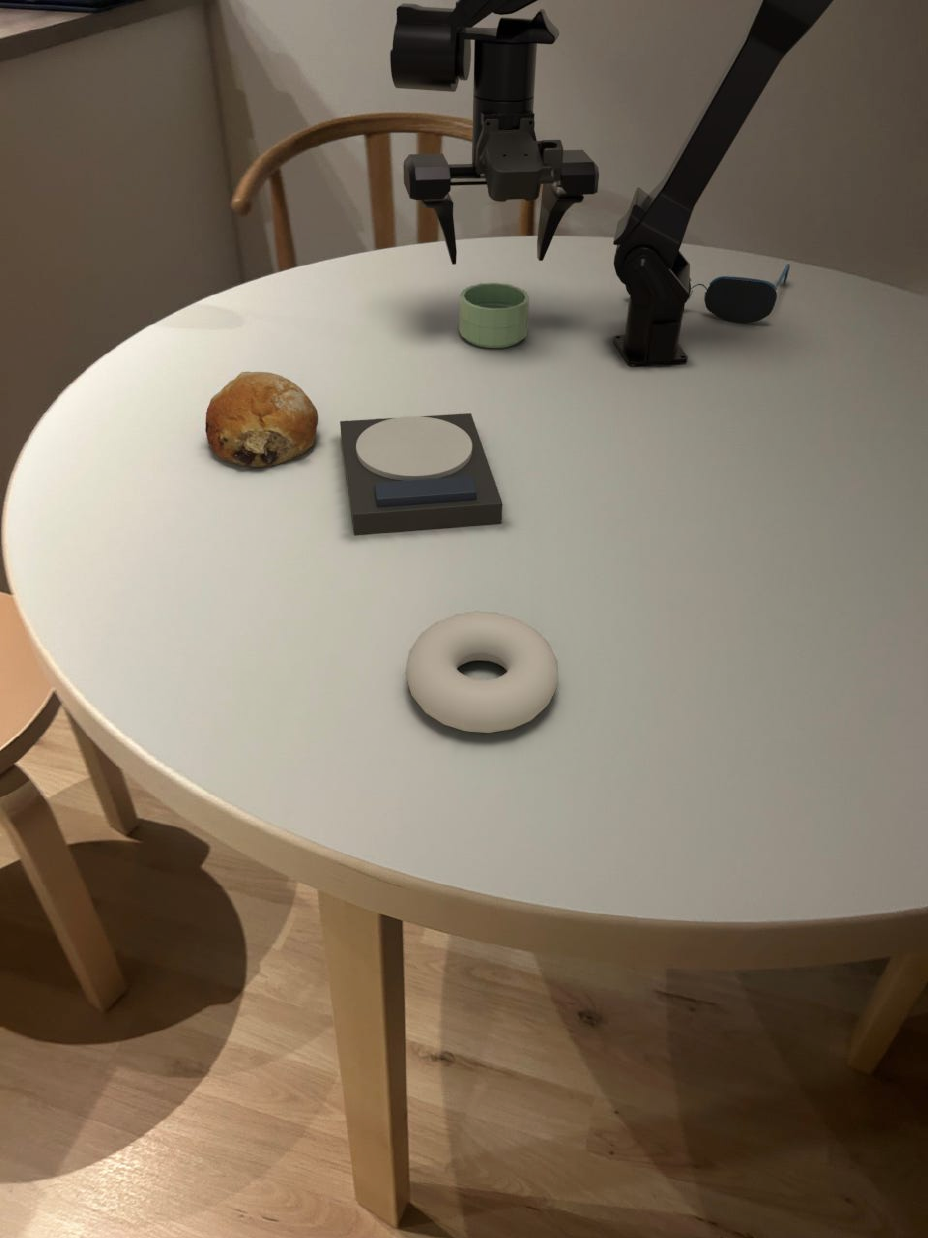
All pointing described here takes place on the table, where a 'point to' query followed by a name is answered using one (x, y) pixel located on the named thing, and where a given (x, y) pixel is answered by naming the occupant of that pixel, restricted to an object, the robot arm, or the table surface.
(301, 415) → the bread roll
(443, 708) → the donut
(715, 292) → the sunglasses
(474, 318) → the bowl
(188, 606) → the table surface
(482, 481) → the scale
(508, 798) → the table surface
